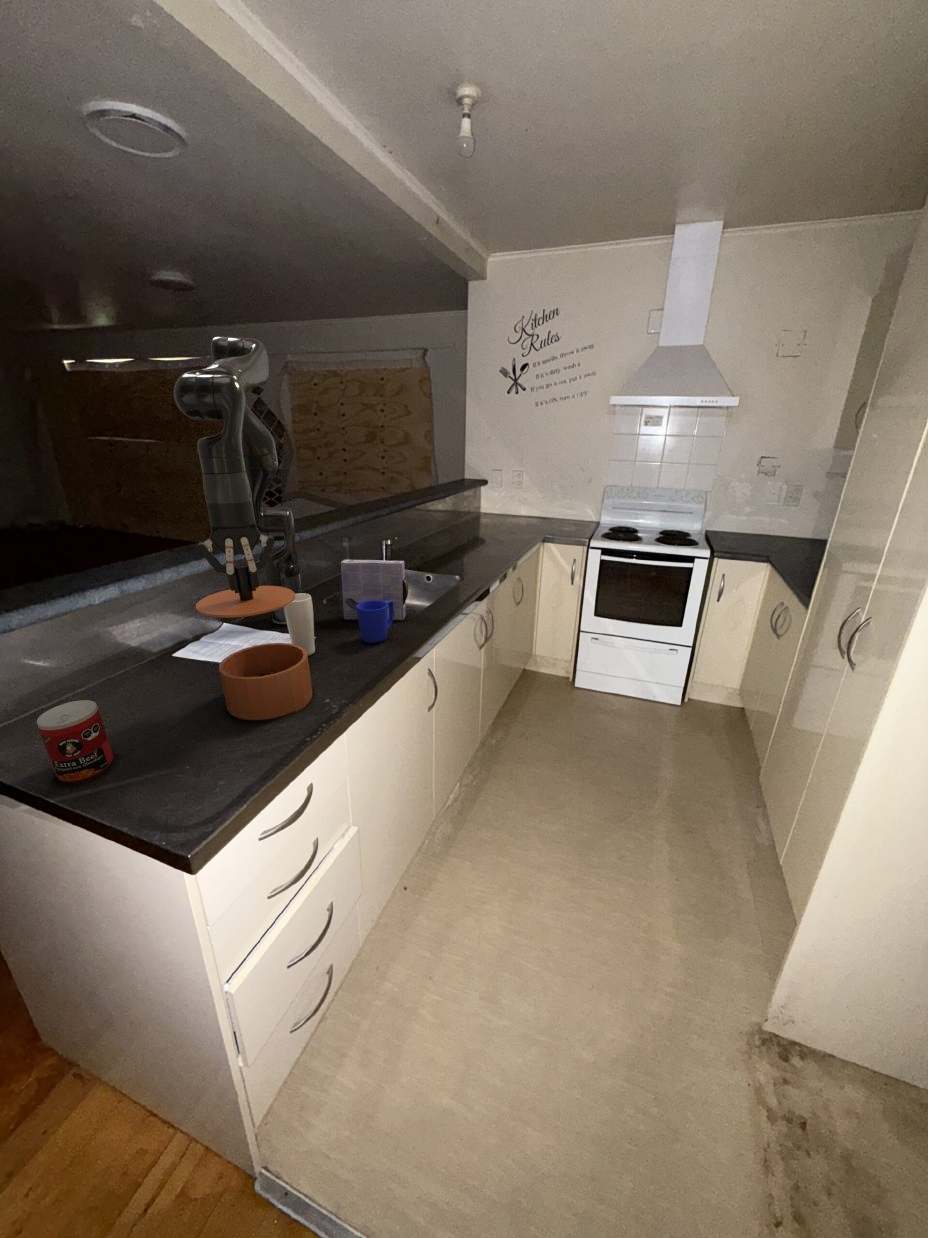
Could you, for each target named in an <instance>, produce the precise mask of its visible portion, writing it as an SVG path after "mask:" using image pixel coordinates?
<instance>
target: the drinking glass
mask: <svg viewBox="0 0 928 1238" xmlns="http://www.w3.org/2000/svg"><path fill="white" fill-rule="evenodd" d="M284 613H285V618H286V622H287V625H286V626H287V630H288V634H289V639H290V644H294V645H298V646H301V647H302V648H304V649H305V650H306V652H307V655H308V657H309V656H312V655H313V654H315V652H316V645H315V644H316V643H315V620H314V619H315V618H314V614H315V613H314V605H313V599H312V596H311V594H309V593H304V592H302V593H297V594H295V599H294V600H293V601H292V602H291V603H290V604H288V605H286V606H284Z"/></svg>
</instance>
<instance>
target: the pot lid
mask: <svg viewBox="0 0 928 1238" xmlns="http://www.w3.org/2000/svg"><path fill="white" fill-rule="evenodd" d="M234 572H235V574H236V579H237V584H238V590H239V593H235V590H234V591H231V589H230V588H229V589H226V590H222V591H217V592H215V593H212V594H209V595H207V596H205V597H203V598H201V599H200V600H199V601H197V603H196V604H195V610H196V611H197V612H198V613H199V614H200V615H202V616H206V617H211V618H219V619H221V618H222V619H223V618H225V619H231V618H232V619H233V618H244V617H251V616H257V615H262V614H263V615H264V614H267V613H270V612H271V613H272V611H274V610H277V609H280V608H282V607H284V606H286V605H288V604H290V603H291V602H292V601H293V600H294V599H295V593H294V592H293V591H292V590H290V589H288V588H284V587H279V586H268V585H259V587H258V588H256V591H252V587H251V581H250V575H249V566H248V564H237V565H235V566H234Z"/></svg>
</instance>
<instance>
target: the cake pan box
mask: <svg viewBox="0 0 928 1238" xmlns="http://www.w3.org/2000/svg"><path fill="white" fill-rule="evenodd" d="M405 568H406V567H405V561H404V560H378V559H343V560H341V561H340V572H341V592H342V609H343V610H342V612H343V619H344V621H346V620H347V621H348V620H352V621H353V620H355V621H356V620H358V615H357V609H356V605H357V604H358V603H360V602H363V601H368V600H381V601H387V600H392V601H393V603H394V610H393V621H405V618H406V615H407V613H406V611H407V610H406V601H407V598H408V596H409V584H408V581H407V579H406V575H405V573H406V572H405ZM388 620H389V604H388ZM388 620H387V621H388Z"/></svg>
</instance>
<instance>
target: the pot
mask: <svg viewBox="0 0 928 1238" xmlns="http://www.w3.org/2000/svg"><path fill="white" fill-rule="evenodd" d="M272 671H275V674H270V675H269V672H272ZM218 672H219V676H220V681H221V686H222V691H223V696H224V700H225V705H226V710H227V712H228V713H229V714H230V715H231V716H233V717H235V718H238V719H241V720H247V721H261V720H271V719H274V718H275V719H276V718H278V717H283V716H285V715H288V714H290V713H293V712H295V713H297V712H299V711H301V710H302V709H304V708H305V707H306V706H307V705H308V704H310V702H311V700H312V697H313V685H312V678H311V677H312V676H311V670H310V662H309V656H308V655H307V652H306V650H305V649H304V648H302V647H301V646H298V645H294V644H292V643H291V642H290V643H289V642H288V643H287V642H273V643H272V642H271V643H262V644H257V645H256V644H255V645H252V646H248V647H245V648H242V649H239V650H237V651H235V652H232V653H231V654H229V655H228V656H226V657H225V658H223V659H222V660H221V662H220V663H219V665H218ZM262 673H264V674H265V676H259V677H258V674H262Z"/></svg>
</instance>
